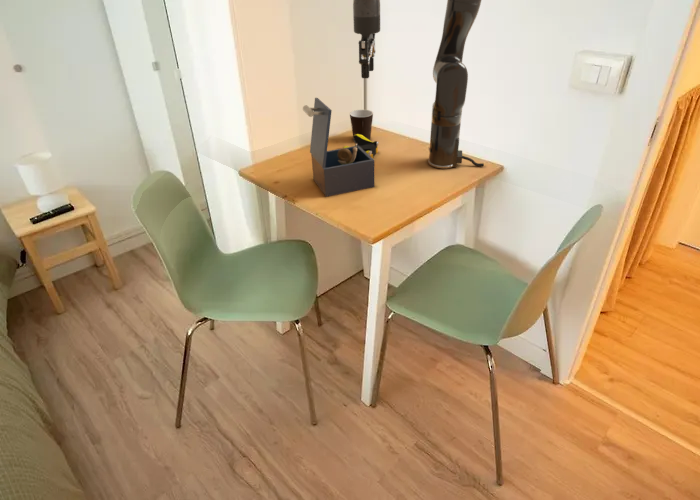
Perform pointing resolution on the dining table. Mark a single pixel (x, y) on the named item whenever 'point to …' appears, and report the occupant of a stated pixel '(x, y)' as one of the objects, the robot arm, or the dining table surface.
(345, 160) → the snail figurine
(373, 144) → the gaming controller
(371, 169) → the compartment
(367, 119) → the coffee mug
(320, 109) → the lid
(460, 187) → the dining table surface
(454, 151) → the robot arm
